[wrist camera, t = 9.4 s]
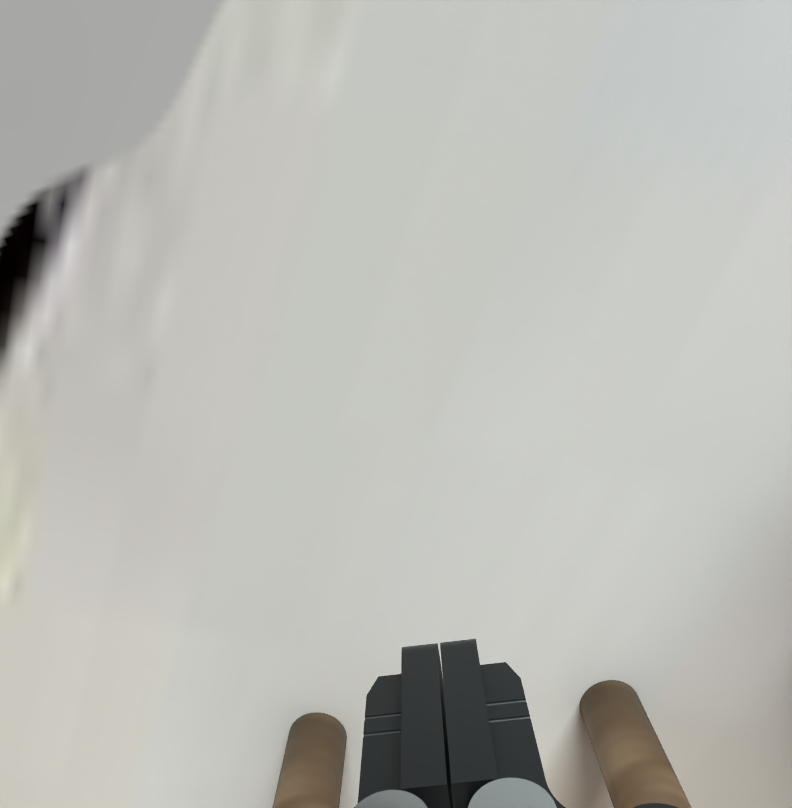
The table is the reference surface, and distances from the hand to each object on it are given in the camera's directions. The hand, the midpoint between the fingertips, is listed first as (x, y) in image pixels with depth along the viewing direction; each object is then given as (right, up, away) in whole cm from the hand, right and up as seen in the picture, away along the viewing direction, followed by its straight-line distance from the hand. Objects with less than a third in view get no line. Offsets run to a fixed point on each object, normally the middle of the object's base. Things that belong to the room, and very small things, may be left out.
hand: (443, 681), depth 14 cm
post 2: (+8, -8, +17) cm, 20 cm away
